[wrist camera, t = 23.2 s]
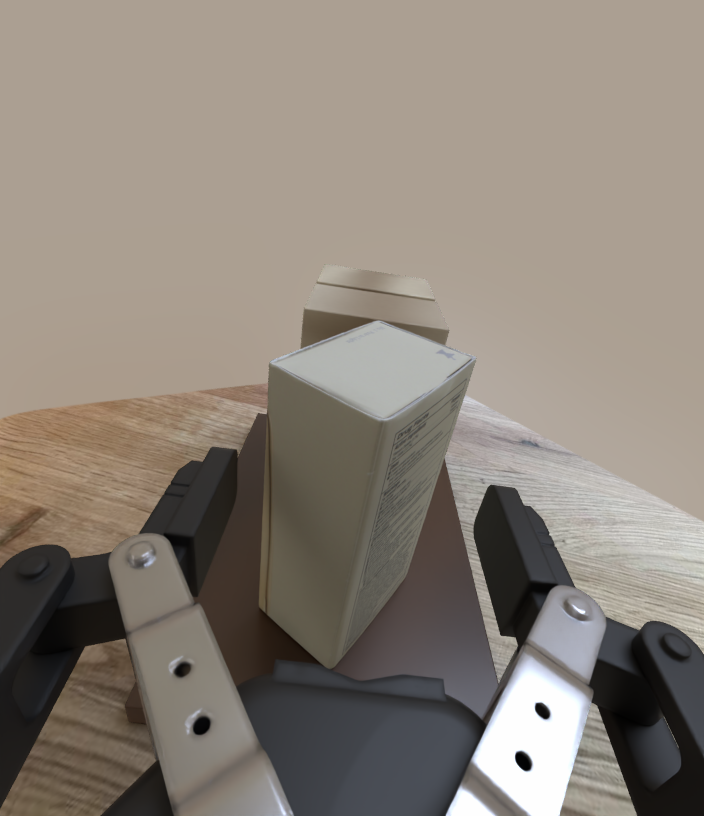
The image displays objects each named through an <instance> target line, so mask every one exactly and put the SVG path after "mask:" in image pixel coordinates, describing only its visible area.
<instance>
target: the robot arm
mask: <svg viewBox="0 0 704 816" xmlns="http://www.w3.org/2000/svg"><path fill="white" fill-rule="evenodd" d="M237 459H238V456H237V450H234V449H227V448H219V447H211V448H210V450H209V452H208V454H207V455H206V457H205V459H204V461H203V462H200V461H190V462H189V463H188V464H186V465H185V466H184V467H182V468H181V469H179V470H178V472H177V473H176V475H175V477H174V478H173V480H172V481H171V484H170V485H169V486H168V488H167V489H166V491H165V494H164V495H163V496H162V497H161V499H160V501H159V502H158V504H157V505H156V507H155V509H154V510H153V512H152V514H151V515H150V517H149V518H148V520H147V522H146V523H145V525H144V526H143V528H142V530H141V531H140V533H139V534H138V535H134V536H132V537H129V538H127V539H126V540H124V541H122V542H121V543H120V544H119V545H117V546H116V547H115V549H114V550H113V551H112V552H109V553H106V554H100V555H93V556H86V557H79V558H71V557H70V554H69V552H68V551H67V550H66V549H65V548H63V547H61V546H58V545H40V546H35V547H32V548H29V549H26V550H24V551H22V552H20V553H18V554H16V555H15V556H13V557H12V558H10V559H9V560H8V561H7V562H6V563H5V564H4V565H3V566H2V567H1V568H0V808H1V806H2V804H3V802H4V801H5V799H6V797H7V795H8V793H9V791H10V789H11V787H12V785H13V783H14V781H15V780H16V778H17V776H18V774H19V772H20V770H21V768H22V766H23V764H24V762H25V760H26V758H27V757H28V755H29V753H30V751H31V749H32V747H33V745H34V743H35V741H36V739H37V737H38V735H39V734H40V732H41V730H42V728H43V726H44V724H45V722H46V720H47V718H48V716H49V714H50V713H51V711H52V709H53V707H54V705H55V703H56V701H57V699H58V697H59V695H60V693H61V691H62V690H63V688H64V686H65V684H66V682H67V680H68V678H69V676H70V674H71V672H72V670H73V669H74V667H75V665H76V663H77V661H78V659H79V657H80V655H81V653H82V651H83V649H84V647H85V646H89V645H94V644H100V643H105V642H110V641H115V640H120V639H126V643H127V647H128V651H129V655H130V659H131V663H132V667H133V671H134V675H135V679H136V682H137V686H138V690H139V694H140V698H141V702H142V707H143V711H144V715H145V719H146V723H147V727H148V731H149V735H150V739H151V743H152V747H153V751H154V755H155V759H156V762H155V763H154V764H153V765H152V766H151V767H150V768H149V769H147V770H146V771H145V772H144V773H143V774H142V775H141V776H140V777H139V778H138V779H137V780H136V781H135V782H134V783H133V784H132V785H131V786H130V787H129V788H128V789H127V790H126V791H125V792H124V793H123V794H122V795H121V796H120V797H119V798H118V799H117V800H116V801H115V802H114V803H113V804H112V805H111V806H110V807H109V808H108V809H107V810H106V811H105V812H104V813H103V814H102V815H101V816H559V814H560V810H561V807H562V803H563V800H564V796H565V793H566V789H567V786H568V782H569V779H570V775H571V772H572V768H573V765H574V761H575V758H576V754H577V751H578V747H579V744H580V740H581V737H582V733H583V730H584V726H585V723H586V719H587V715H588V712H589V708H590V705H591V702H592V703H594V704H596V705H597V706H598V709H599V712H600V715H601V717H602V720H603V723H604V725H605V728H606V731H607V734H608V736H609V739H610V742H611V745H612V747H613V750H614V753H615V756H616V758H617V761H618V764H619V767H620V769H621V772H622V775H623V778H624V780H625V783H626V786H627V789H628V791H629V794H630V797H631V800H632V802H633V805H634V808H635V811H636V813H637V816H704V654H703V653H702V651H701V650H700V648H699V647H698V646H697V645H696V644H695V643H694V642H693V641H692V640H691V639H690V638H689V637H688V636H687V635H686V634H684V633H683V632H681V631H680V630H678V629H677V628H675V627H673V626H671V625H669V624H666V623H663V622H659V621H650V622H647V623H646V624H644V626H643V627H642V628H641V629H640V630H637V629H634V628H632V627H629V626H627V625H624V624H622V623H619V622H617V621H614V620H612V619H610V618H607V617H605V615H604V613H603V611H602V609H601V608H600V606H599V605H598V604H597V603H596V602H595V601H594V600H593V599H592V598H591V597H590V596H589V595H587V594H586V593H584V592H583V591H581V590H579V589H577V588H575V586H574V584H573V581H572V579H571V577H570V575H569V573H568V571H567V569H566V567H565V565H564V563H563V561H562V558H561V556H560V554H559V552H558V550H557V548H556V547H555V546H554V545H555V544H554V542H553V540H552V538H551V536H549V531H548V529H547V527H546V525H545V523H544V521H543V519H542V518H541V517H540V516H539V515H538V514H537V513H536V512H535V511H534V510H533V508H532V507H531V506H524V505H523V503H522V500H521V498H520V496H519V494H518V491H517V490H516V489H515V488H511V487H504V486H497V485H490V486H489V487H488V488H487V491H486V493H485V496H484V498H483V501H482V503H481V506H480V508H479V511H478V514H477V516H476V519H475V522H474V539H475V543H476V547H477V551H478V554H479V558H480V562H481V565H482V569H483V573H484V576H485V580H486V584H487V587H488V591H489V595H490V598H491V602H492V605H493V609H494V613H495V616H496V620H497V624H498V627H499V631H500V635H501V636H509V637H516V640H517V644H518V647H517V649H516V650H515V652H514V654H513V656H512V658H511V660H510V662H509V664H508V666H507V668H506V670H505V672H504V674H503V676H502V678H501V680H500V682H499V685H498V687H497V689H496V691H495V693H494V695H493V697H492V699H491V701H490V703H489V705H488V706H487V708H486V710H485V712H484V714H483V716H482V718H480V717H479V716H478V715H477V714H476V713H475V712H474V711H472V710H471V709H470V708H469V707H467V706H466V705H465V704H463V703H462V702H460V701H459V700H457V699H455V698H453V697H451V696H449V695H447V694H445V687H444V680H443V679H441V678H432V677H423V676H415V675H406V674H400V675H394V676H388V677H382V678H376V679H370V680H364V681H359V680H355V679H353V678H350V677H348V676H345V675H343V674H340V673H338V672H335V671H333V670H331V669H328V668H326V667H323V666H321V665H318V664H312V663H304V662H295V661H287V660H278V659H275V664H274V669H273V673H268V674H263V675H260V676H257V677H253V678H251V679H249V680H247V681H244V682H243V683H241V684H239V685H237V686H235V684H234V682H233V679H232V677H231V675H230V672H229V670H228V667H227V665H226V663H225V660H224V658H223V655H222V653H221V651H220V648H219V646H218V644H217V641H216V639H215V636H214V634H213V632H212V629H211V627H210V624H209V622H208V620H207V617H206V615H205V613H204V610H203V608H202V606H201V605H200V603H199V602H196V603H195V601H194V600H193V597H198V596H199V593H200V591H201V588H202V585H203V583H204V580H205V578H206V575H207V573H208V570H209V568H210V565H211V563H212V560H213V558H214V555H215V553H216V550H217V548H218V545H219V543H220V540H221V538H222V535H223V533H224V530H225V528H226V525H227V522H228V520H229V517H230V515H231V512H232V510H233V507H234V504H235V500H236V496H237ZM663 716H664V717H665V719H666V721H667V723H668V725H667V723H666V721H665V719H664V717H663ZM668 726H669V727H668ZM669 728H670V729H669ZM670 730H671V731H670ZM671 732H672V733H671ZM672 734H673V735H672ZM673 736H674V738H675V740H676V742H677V744H676V742H675V740H674V738H673ZM677 745H678V746H677ZM678 747H679V748H678Z"/></svg>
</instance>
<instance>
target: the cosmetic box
mask: <svg viewBox="0 0 704 816" xmlns="http://www.w3.org/2000/svg"><path fill="white" fill-rule="evenodd" d="M475 362H476V357H475V356H472V355H469V354H466V353H463V352H460V351H458V350H455V349H453V348H450V347H447V346H445V345H442V344H439V343H437V342H435V341H432V340H429V339H427V338H424V337H421V336H419V335H416V334H414V333H411V332H408V331H406V330H403V329H400V328H398V327H395V326H393V325H390V324H388V323H385V322H383V321H379V320H378V321H374V322H372V323H369V324H366V325H363V326H360V327H357V328H355V329H352V330H349V331H347V332H345V333H341V334H339V335H336V336H333V337H331V338H328V339H326V340H322V341H320V342H318V343H315V344H313V345H310V346H307V347H304V348H302V349H300V350H297V351H295V352H292V353H290V354H287V355H285V356H282V357H280V358H277V359H274V360H272V361H270V363H269V378H268V380H269V381H268V408H267V429H266V450H265V474H264V496H263V516H262V542H261V563H260V586H259V607H260V608H261V609H262V610H263V611H264V612H265V613H266V614H267V615H268V616H269V617H270V618H271V619H272V620H273V621H274V622H276V623H277V624H278V625H279V626H280V627H281V628H282V629H283V630H284V631H285V632H287V633H288V634H289V635H290V636H291V637H292V638H293V639H294V640H295V641H296V642H298V643H299V644H300V645H301V646H302V647H303V648H304V649H305V650H307V651H308V652H309V653H310V654H311V655H312V656H313V657H314V658H316V659H317V660H318V661H319V662H320V663H321V664H322V665H323V666H325V667H326V668H328V669H332V668H334V667H335V666H336V665H337V663H338V662H339V661H340V660H341V659H342V658H343V656H344V655H345V654H346V653H347V651H348V650H349V649H350V648H351V647H352V645H353V644H354V643H355V642H356V641H357V639H358V638H359V637H360V636H361V634H362V633H363V632H364V631H365V629H366V628H367V627H368V626H369V624H370V623H371V622H372V621H373V619H374V618H375V617H376V615H377V614H378V613H379V612H380V610H381V609H382V608H383V607H384V605H385V604H386V603H387V601H388V600H389V599H390V597H391V596H392V595H393V594H394V592H395V591H396V589H397V588H398V587H399V585H400V584H401V582H402V581H403V580H404V579H405V577H406V575H407V572H408V569H409V566H410V563H411V560H412V557H413V554H414V550H415V547H416V544H417V541H418V538H419V535H420V532H421V529H422V526H423V523H424V520H425V517H426V514H427V510H428V507H429V504H430V501H431V498H432V495H433V492H434V489H435V486H436V482H437V479H438V476H439V473H440V470H441V467H442V464H443V461H444V458H445V455H446V452H447V449H448V446H449V442H450V439H451V436H452V433H453V430H454V427H455V424H456V421H457V417H458V414H459V411H460V408H461V405H462V402H463V399H464V396H465V393H466V390H467V387H468V384H469V381H470V377H471V374H472V371H473V368H474V365H475Z"/></svg>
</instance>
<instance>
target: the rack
mask: <svg viewBox="0 0 704 816" xmlns="http://www.w3.org/2000/svg"><path fill="white" fill-rule="evenodd" d="M378 320H379V321H383V322H385V323H388V324H390V325H393V326H395V327H398V328H400V329H403V330H406V331H408V332H411V333H414V334H416V335H419V336H421V337H424V338H427V339H429V340H432V341H435V342H437V343H439V344H442V345H445V344H446V341H447V337H448V333H449V328H448V326H447V324H446V322H445V320H444V317H443V315H442V313H441V310H440V308H439V306H438V304H437V302H435V297H434V295H433V293H432V291H431V288H430V286H429V284H428V282H427V280H426V279H419V278H413V277H406V276H400V275H393V274H387V273H380V272H373V271H367V270H361V269H354V268H347V267H341V266H334V265H328V264H325V265H324V267H323V269H322V271H321V273H320V276H319V278H318V280H317V283H316V285H315V286H314V288H313V291H312V293H311V295H310V297H309V299H308V301H307V303H306V306H305V308H304V313H303V325H302V338H301V349H302V348H304V347H307V346H310V345H313V344H315V343H318V342H320V341H322V340H326V339H328V338H331V337H333V336H336V335H339V334H341V333H345V332H347V331H349V330H352V329H355V328H357V327H360V326H363V325H366V324H369V323H372V322H374V321H378ZM266 429H267V414H260V413H258V415H257V417H256V419H255V421H254V423H253V426H252V428H251V430H250V432H249V434H248V437H247V439H246V441H245V443H244V445H243V448H242V450H241V452H240V454H239V456H238V459H237V496H236V500H235V504H234V507H233V510H232V512H231V515H230V517H229V520H228V522H227V525H226V528H225V530H224V533H223V535H222V538H221V540H220V543H219V545H218V548H217V550H216V553H215V555H214V558H213V560H212V563H211V565H210V568H209V570H208V573H207V575H206V578H205V580H204V583H203V585H202V588H201V591H200V593H199V596H198V597H193V600H194V601H195V603H196V602H199V603H200V605H201V606H202V608H203V610H204V613H205V615H206V617H207V620H208V622H209V624H210V627H211V629H212V632H213V634H214V636H215V639H216V641H217V644H218V646H219V648H220V651H221V653H222V655H223V658H224V660H225V663H226V665H227V667H228V670H229V672H230V675H231V677H232V679H233V682H234V684H235V686H237V685H239V684H241V683H243V682H244V681H247V680H249V679H251V678H253V677H257V676H260V675H263V674H268V673H273V669H274V664H275V659H278V660H287V661H295V662H304V663H312V664H318V665H321V666H323V665H322V664H321V663H320V662H319V661H318V660H317V659H316V658H314V657H313V656H312V655H311V654H310V653H309V652H308V651H307V650H305V649H304V648H303V647H302V646H301V645H300V644H299V643H298V642H296V641H295V640H294V639H293V638H292V637H291V636H290V635H289V634H288V633H287V632H285V631H284V630H283V629H282V628H281V627H280V626H279V625H278V624H277V623H276V622H274V621H273V620H272V619H271V618H270V617H269V616H268V615H267V614H266V613H265V612H264V611H263V610H262V609H261V608H260V607H259V586H260V563H261V542H262V516H263V496H264V474H265V450H266ZM323 667H325V666H323ZM331 670H333V671H335V672H338V673H340V674H343V675H345V676H348V677H350V678H353V679H355V680H359V681H364V680H370V679H376V678H382V677H388V676H394V675H400V674H406V675H415V676H423V677H432V678H441V679H443V680H444V687H445V694H447V695H449V696H451V697H453V698H455V699H457V700H459V701H460V702H462V703H463V704H465V705H466V706H467V707H469V708H470V709H471V710H472V711H474V712H475V713H476V714H477V715H478V716H479V717H480V718H482V716H483V714H484V712H485V710H486V708H487V706H488V705H489V703H490V701H491V699H492V697H493V695H494V693H495V691H496V689H497V687H498V685H499V684H498V680H497V676H496V671H495V667H494V663H493V659H492V655H491V650H490V646H489V642H488V638H487V634H486V630H485V625H484V621H483V617H482V613H481V609H480V605H479V600H478V596H477V592H476V588H475V584H474V579H473V575H472V571H471V567H470V563H469V559H468V554H467V550H466V546H465V542H464V538H463V534H462V529H461V525H460V521H459V517H458V513H457V508H456V504H455V500H454V496H453V492H452V488H451V483H450V479H449V475H448V471H447V467H446V463H445V458H444V461H443V464H442V467H441V470H440V473H439V476H438V479H437V482H436V486H435V489H434V492H433V495H432V498H431V501H430V504H429V507H428V510H427V514H426V517H425V520H424V523H423V526H422V529H421V532H420V535H419V538H418V541H417V544H416V547H415V550H414V554H413V557H412V560H411V563H410V566H409V569H408V572H407V575H406V577H405V579H404V580H403V581H402V582H401V584H400V585H399V587H398V588H397V589H396V591H395V592H394V594H393V595H392V596H391V597H390V599H389V600H388V601H387V603H386V604H385V605H384V607H383V608H382V609H381V610H380V612H379V613H378V614H377V615H376V617H375V618H374V619H373V621H372V622H371V623H370V624H369V626H368V627H367V628H366V629H365V631H364V632H363V633H362V634H361V636H360V637H359V638H358V639H357V641H356V642H355V643H354V644H353V645H352V647H351V648H350V649H349V650H348V651H347V653H346V654H345V655H344V656H343V658H342V659H341V660H340V661H339V662H338V663H337V665H336V666H335V667H334V668H332V669H331ZM125 709H126V712H127V716H128V720H129V722H133V723H142V724H147V723H146V719H145V715H144V711H143V707H142V702H141V698H140V694H139V690H138V686H137V682H135V685H134V687H133V689H132V691H131V693H130V696H129V698H128V700H127V702H126V704H125Z"/></svg>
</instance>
